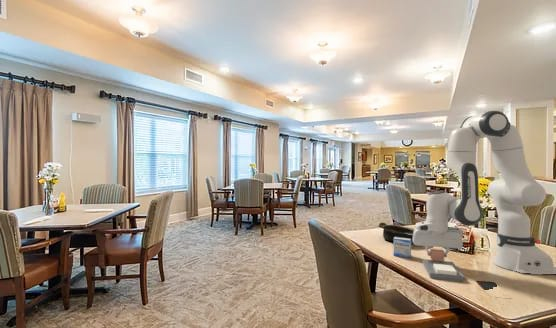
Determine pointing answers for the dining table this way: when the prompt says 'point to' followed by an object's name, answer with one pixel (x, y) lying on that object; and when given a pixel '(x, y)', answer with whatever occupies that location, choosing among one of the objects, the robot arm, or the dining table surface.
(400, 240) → the medicine box
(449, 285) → the dining table surface
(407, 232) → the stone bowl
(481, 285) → the smartphone
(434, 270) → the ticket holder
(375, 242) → the dining table surface
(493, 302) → the dining table surface
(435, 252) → the stub
